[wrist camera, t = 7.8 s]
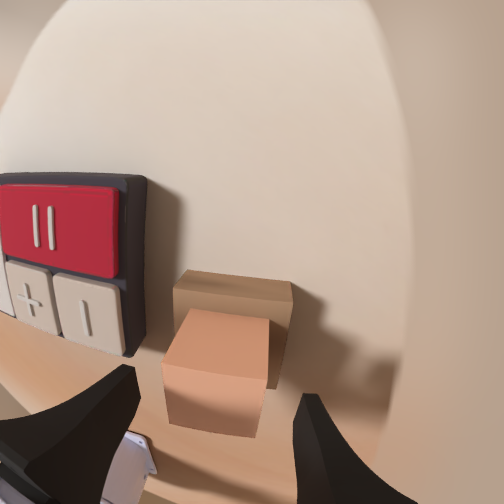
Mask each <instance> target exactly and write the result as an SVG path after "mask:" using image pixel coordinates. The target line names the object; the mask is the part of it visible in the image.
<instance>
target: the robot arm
mask: <svg viewBox="0 0 504 504" xmlns="http://www.w3.org/2000/svg"><path fill="white" fill-rule="evenodd" d="M140 399H141V396H140V391H139V386H138V381H137V376H136V371H135V367H132V366H128V365H125V364H122V365H120V366H119V367H118V368H116V369H115V370H113V371H112V372H111V373H109V374H108V375H106V376H105V377H104V378H102V379H101V380H99V381H98V382H96V383H95V384H94V385H92V386H91V387H89V388H88V389H86V390H85V391H83V392H81V393H80V394H78V395H76V396H75V397H73V398H71V399H69V400H68V401H66V402H64V403H61V404H59V405H57V406H55V407H53V408H50V409H47V410H45V411H42V412H39V413H36V414H33V415H29V416H25V417H20V418H15V419H8V420H0V461H1V463H0V504H138V502H139V499H140V496H141V493H142V491H143V488H144V485H145V482H146V480H147V477H148V474H149V473H152V474H157V470H156V467H155V464H154V462H153V459H152V456H151V453H150V450H149V447H148V445H147V441H146V439H145V438H144V437H143V436H141V435H138V434H135V433H132V432H129V431H127V430H128V428H129V426H130V424H131V422H132V420H133V418H134V416H135V413H136V411H137V408H138V405H139V402H140ZM293 449H294V459H295V468H296V477H297V504H418V503H417V502H415V501H414V500H411V499H410V498H408V497H406V496H404V495H403V494H401V493H400V492H398V491H397V490H395V489H394V488H392V487H391V486H389V485H388V484H387V483H386V482H384V481H383V480H382V479H381V478H379V477H378V476H377V475H376V474H375V473H374V472H373V471H372V470H371V469H370V468H369V467H368V466H367V465H366V464H365V463H364V462H363V461H362V460H361V459H360V458H359V457H358V456H357V454H356V453H355V452H354V451H353V450H352V448H351V447H350V446H349V444H348V443H347V442H346V440H345V439H344V438H343V436H342V435H341V433H340V432H339V430H338V429H337V427H336V426H335V424H334V422H333V421H332V419H331V417H330V416H329V414H328V412H327V410H326V409H325V407H324V405H323V403H322V401H321V399H320V397H319V395H318V394H308V393H303V395H302V398H301V401H300V404H299V406H298V409H297V412H296V415H295V418H294V421H293Z"/></svg>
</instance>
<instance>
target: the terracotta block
mask: <svg viewBox="0 0 504 504" xmlns="http://www.w3.org/2000/svg"><path fill="white" fill-rule="evenodd" d="M268 350H269V319H264V318H256V317H248V316H240V315H232V314H225V313H218V312H211V311H204V310H198V309H192V308H191V309H190V310H189V312H188V314H187V316H186V318H185V320H184V321H183V323H182V325H181V327H180V329H179V330H178V332H177V334H176V336H175V338H174V340H173V341H172V343H171V345H170V347H169V349H168V351H167V353H166V354H165V356H164V358H163V360H162V362H161V367H162V376H163V384H164V391H165V399H166V405H167V412H168V418H169V424H174V425H178V426H182V427H187V428H192V429H197V430H202V431H207V432H213V433H219V434H226V435H233V436H241V437H250V438H255V436H256V432H257V428H258V423H259V419H260V414H261V409H262V405H263V400H264V395H265V390H266V385H267V380H268Z"/></svg>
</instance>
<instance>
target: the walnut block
mask: <svg viewBox="0 0 504 504" xmlns="http://www.w3.org/2000/svg"><path fill="white" fill-rule="evenodd" d="M191 308H192V309H198V310H204V311H211V312H218V313H225V314H232V315H240V316H248V317H256V318H264V319H269V350H268V380H267V385H266V389H276V388H277V383H278V379H279V374H280V369H281V365H282V360H283V355H284V350H285V345H286V340H287V335H288V329H289V324H290V319H291V313H292V308H293V297H292V291H291V285H290V282H289V281H280V280H270V279H261V278H252V277H243V276H234V275H226V274H218V273H209V272H201V271H193V270H187V271H186V272H185V273H184V274H183V276H182V277H181V278H180V279H179V281H178V282H177V283H176V285H175V286H174V287H173V315H174V336H176V334H177V332H178V330H179V329H180V327H181V325H182V323H183V321H184V320H185V318H186V316H187V314H188V312H189V310H190V309H191Z"/></svg>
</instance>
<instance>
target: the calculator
mask: <svg viewBox="0 0 504 504" xmlns="http://www.w3.org/2000/svg"><path fill="white" fill-rule="evenodd" d="M146 195H147V179H146V178H145V177H144V176H142V175H132V174H113V173H84V172H34V173H30V172H21V173H4V174H0V311H1V312H3V313H5V314H8V315H10V316H12V317H14V318H16V319H18V320H19V321H21V322H23V323H26V324H28V325H30V326H33V327H35V328H38V329H40V330H42V331H45V332H47V333H50V334H53V335H56V336H60V337H63V338H66V339H67V340H69V341H72V342H75V343H78V344H81V345H84V346H87V347H90V348H93V349H96V350H99V351H103V352H106V353H110V354H113V355H117V356H124V357H128V358H131V357H133V356H134V354H135V353H136V351H137V349H138V348H139V346H140V344H141V342H142V341H143V339H144V337H145V336H146V322H145V300H144V233H145V211H146Z"/></svg>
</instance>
